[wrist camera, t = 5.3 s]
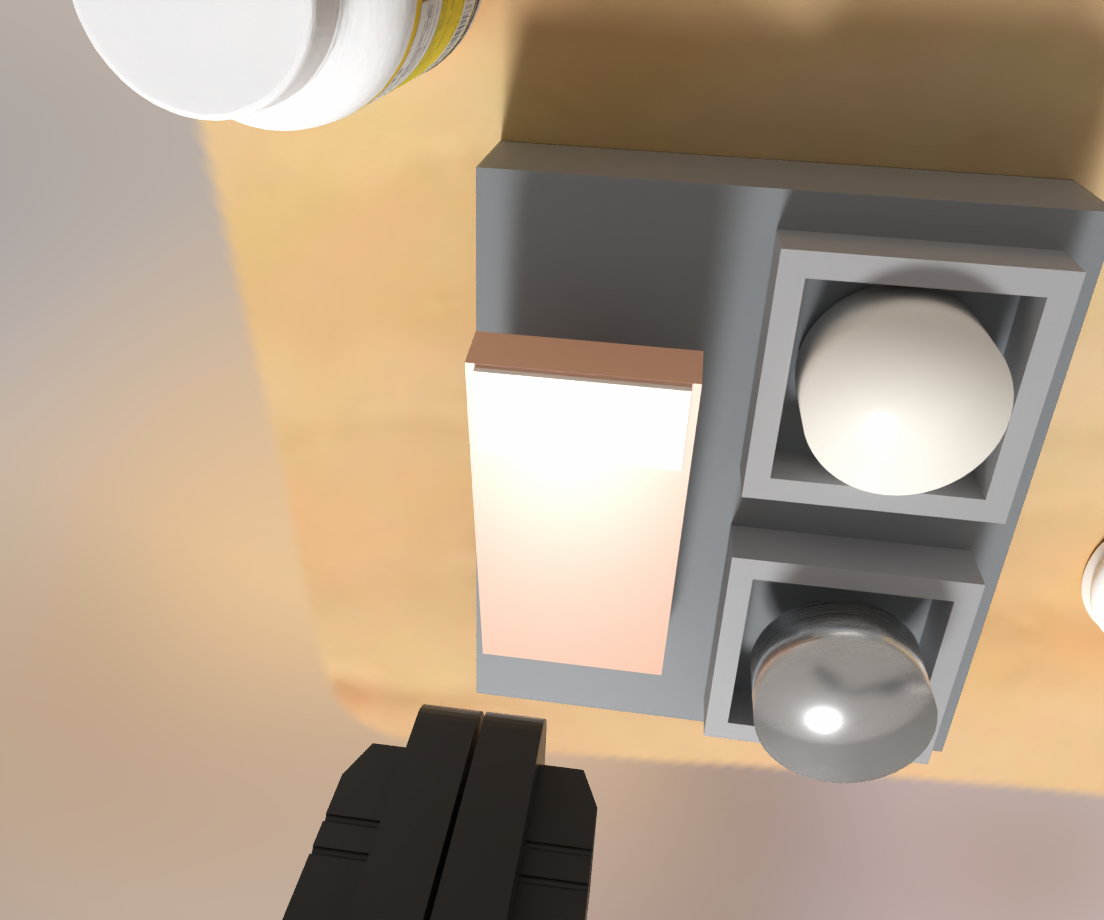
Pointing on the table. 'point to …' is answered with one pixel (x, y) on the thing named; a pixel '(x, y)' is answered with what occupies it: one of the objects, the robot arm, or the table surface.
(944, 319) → the white button
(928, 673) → the panel
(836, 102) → the table surface
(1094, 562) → the chess piece
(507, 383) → the rocker
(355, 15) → the supplement bottle
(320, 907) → the robot arm
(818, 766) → the metal button
